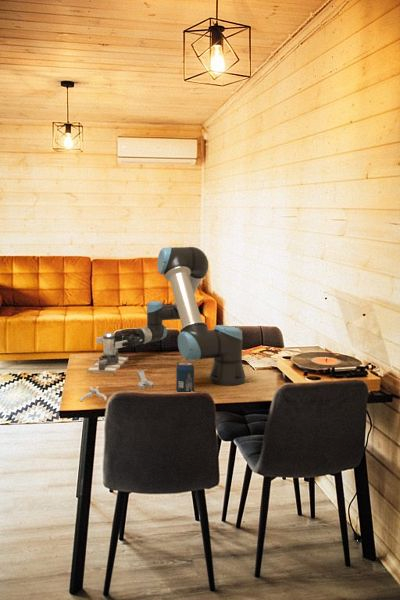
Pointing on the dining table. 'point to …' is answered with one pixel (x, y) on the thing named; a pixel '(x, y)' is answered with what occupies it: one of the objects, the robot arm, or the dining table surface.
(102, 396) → the pliers
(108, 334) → the coupler
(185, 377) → the soda can
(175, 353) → the dining table surface
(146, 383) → the adjustable wrench
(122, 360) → the coupling base
